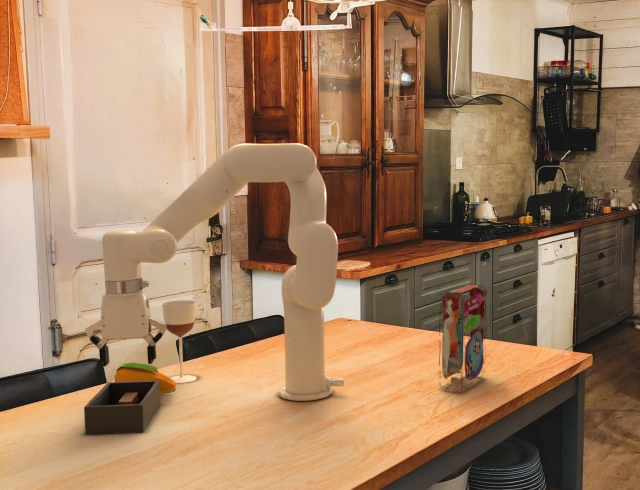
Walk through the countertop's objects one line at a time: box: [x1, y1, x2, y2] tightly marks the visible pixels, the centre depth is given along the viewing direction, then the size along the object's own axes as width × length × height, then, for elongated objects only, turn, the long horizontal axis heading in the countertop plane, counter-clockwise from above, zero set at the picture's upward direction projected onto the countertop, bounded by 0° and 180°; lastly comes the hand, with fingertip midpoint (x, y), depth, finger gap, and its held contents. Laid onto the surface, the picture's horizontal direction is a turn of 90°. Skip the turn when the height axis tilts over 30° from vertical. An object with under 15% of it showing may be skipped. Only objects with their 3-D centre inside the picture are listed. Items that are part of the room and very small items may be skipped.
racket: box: [118, 392, 139, 405], centre depth 169 cm, size 8×15×3 cm, turn 7°
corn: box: [114, 362, 177, 395], centre depth 188 cm, size 7×8×20 cm
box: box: [438, 284, 489, 394], centre depth 199 cm, size 25×6×24 cm, turn 153°
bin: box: [83, 381, 162, 436], centre depth 169 cm, size 12×19×6 cm, turn 7°
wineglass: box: [162, 299, 198, 384], centre depth 201 cm, size 8×9×20 cm
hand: (128, 363), depth 171 cm, fingers open, 9 cm apart
